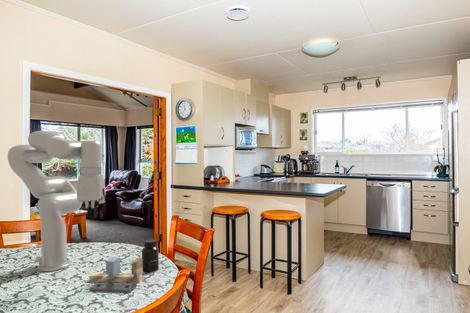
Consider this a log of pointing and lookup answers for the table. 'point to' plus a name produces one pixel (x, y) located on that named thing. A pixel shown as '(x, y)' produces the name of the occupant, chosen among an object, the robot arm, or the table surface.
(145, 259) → the supplement bottle
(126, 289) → the flange plate
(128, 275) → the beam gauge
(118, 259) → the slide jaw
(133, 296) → the table surface
